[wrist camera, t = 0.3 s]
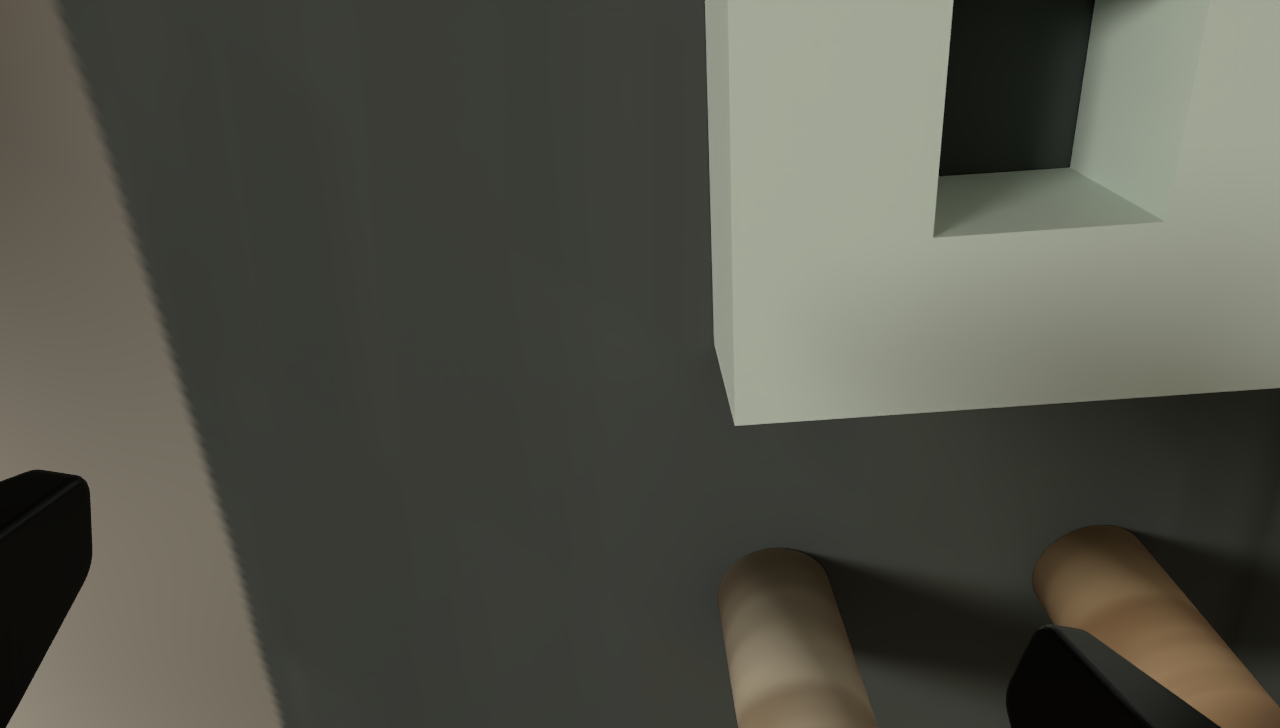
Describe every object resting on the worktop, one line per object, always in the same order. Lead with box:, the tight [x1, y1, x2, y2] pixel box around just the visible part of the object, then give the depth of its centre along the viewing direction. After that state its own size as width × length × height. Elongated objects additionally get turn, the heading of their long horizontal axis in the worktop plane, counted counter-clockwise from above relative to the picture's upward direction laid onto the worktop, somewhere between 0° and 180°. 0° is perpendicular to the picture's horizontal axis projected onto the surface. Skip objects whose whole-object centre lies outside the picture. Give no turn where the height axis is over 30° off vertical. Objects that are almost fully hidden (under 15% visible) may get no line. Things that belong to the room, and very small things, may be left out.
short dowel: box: [1032, 525, 1280, 728], centre depth 24 cm, size 3×3×6 cm
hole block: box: [705, 0, 1280, 426], centre depth 18 cm, size 12×12×4 cm
